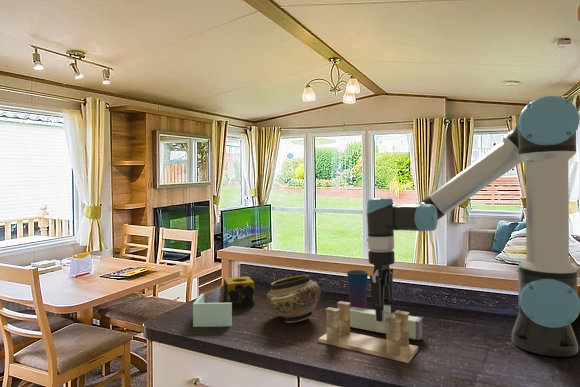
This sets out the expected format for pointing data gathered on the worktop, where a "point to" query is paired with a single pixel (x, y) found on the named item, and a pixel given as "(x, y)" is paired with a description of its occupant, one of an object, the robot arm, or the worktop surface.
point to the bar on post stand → (389, 348)
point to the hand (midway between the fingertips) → (383, 328)
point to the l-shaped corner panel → (211, 313)
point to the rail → (368, 322)
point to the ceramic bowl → (293, 298)
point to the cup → (357, 288)
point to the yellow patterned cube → (239, 291)
